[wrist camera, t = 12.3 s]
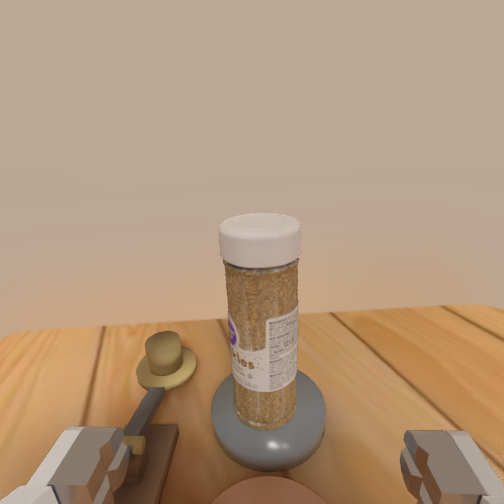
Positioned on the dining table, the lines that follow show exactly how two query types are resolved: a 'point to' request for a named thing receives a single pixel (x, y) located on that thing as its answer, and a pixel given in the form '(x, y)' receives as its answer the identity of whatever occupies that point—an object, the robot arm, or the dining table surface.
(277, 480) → the peach oval pebble
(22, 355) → the dining table surface
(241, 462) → the grey oval pebble
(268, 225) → the spice jar
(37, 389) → the dining table surface
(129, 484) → the balance
